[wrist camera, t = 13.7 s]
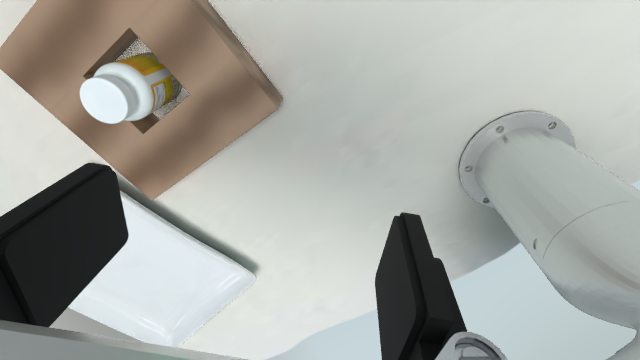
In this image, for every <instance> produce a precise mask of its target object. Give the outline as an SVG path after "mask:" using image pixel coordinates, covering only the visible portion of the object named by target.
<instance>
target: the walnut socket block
mask: <svg viewBox="0 0 640 360" xmlns="http://www.w3.org/2000/svg"><path fill="white" fill-rule="evenodd" d="M138 37H139V38H140V39H141V41H142V42H143V43H144V44H145V45H146V46H147V47H148V48H149V49H150V50H151V52H152V53H153V54H154V55H155V56H156V57H157V58H158V59H159V60H160V61H161V63H162V64H163V65H164V66H165V67H166V68H167V69H168V70H169V71H170V73H171V74H172V75H173V76H174V77H175V78H176V79H177V80H178V81H179V82H180V84H181V85H182V86H183V87H184V88H185V89H186V90H187V91H188V92H189V93H190V95H189V96H188V97H187V98H185V99H184V100H183V101H182V102H181V103H180V104H178V105H177V106H176V107H175V108H174V109H172V110H171V111H170V112H169V113H168V114H167V115H165V116H164V117H163V118H162V119H161V120H159V119H158V118H157V117H156V116H155V115H154V114H153V113H150V114H149V115H147V116H146V117H144V118H142V119H139V120H135V121H126V120H123V121H121V122H119V123H115V124H109V123H104V122H101V121H99V120H97V119H96V118H94V117H93V116H91V115H90V114H89V113H88V112H87V110H86V109H85V108H84V106H83V104H82V102H81V99H80V88H81V86H82V84H83V83H84V82H85V81H86V80H88V79H90V78H92V77H94V74H95V73H96V71H97V70H98V69H99V68H100V67H102V66H103V65H105V64H108V63H111V62H114V61H115V60H116V59H117V58H118V57H119V56H120V55H121V54H122V53H123V52H124V51H125V50H126V49H127V48H128V47H129V46H130V45H131V44H132V43H133V42H134V41H135V40H136V39H137V38H138ZM0 69H1V70H2V71H3V72H4V73H6V74H7V75H8V76H9V77H10V78H11V79H12V80H14V81H15V82H16V83H17V84H18V85H19V86H21V87H22V88H23V89H24V90H25V91H26V92H27V93H29V94H30V95H31V96H32V97H33V98H34V99H35V100H37V101H38V102H39V103H40V104H41V105H42V106H43V107H45V108H46V109H47V110H48V111H49V112H50V113H51V114H53V115H54V116H55V117H56V118H57V119H58V120H60V121H61V122H62V123H63V124H64V125H65V126H66V127H68V128H69V129H70V130H71V131H72V132H73V133H74V134H76V135H77V136H78V137H79V138H80V139H81V140H82V141H84V142H85V143H86V144H87V145H88V146H89V147H90V148H92V149H93V150H94V151H95V152H96V153H97V154H98V155H100V156H101V157H102V158H103V159H104V160H105V161H107V162H108V163H109V164H110V165H111V166H112V167H113V168H115V169H116V170H117V171H118V172H119V173H120V174H121V175H123V176H124V177H125V178H126V179H127V180H128V181H129V182H131V183H132V184H133V185H134V186H135V187H136V188H137V189H139V190H140V191H141V192H142V193H143V194H144V195H146V196H147V197H148V198H149V199H150V200H151V201H152V200H154V199H155V198H157V197H158V196H159V195H161V194H162V193H163V192H165V191H166V190H167V189H169V188H170V187H172V186H173V185H174V184H176V183H177V182H178V181H180V180H181V179H183V178H184V177H185V176H187V175H188V174H189V173H191V172H192V171H194V170H195V169H196V168H198V167H199V166H200V165H202V164H203V163H205V162H206V161H207V160H209V159H210V158H211V157H213V156H214V155H216V154H217V153H218V152H220V151H221V150H222V149H224V148H225V147H227V146H228V145H229V144H231V143H232V142H233V141H235V140H236V139H237V138H239V137H240V136H242V135H243V134H244V133H246V132H247V131H248V130H250V129H251V128H253V127H254V126H255V125H257V124H258V123H259V122H261V121H262V120H264V119H265V118H266V117H268V116H269V115H270V114H272V113H273V112H275V111H276V110H277V109H278V107H279V105H280V103H281V101H282V99H283V97H282V96H281V95H280V93H279V92H278V91H277V90H276V88H275V87H274V86H273V84H272V83H271V82H270V81H269V79H268V78H267V77H266V75H265V74H264V73H263V72H262V70H261V69H260V68H259V66H258V65H257V64H256V62H255V61H254V60H253V59H252V57H251V56H250V55H249V53H248V52H247V51H246V50H245V48H244V47H243V46H242V44H241V43H240V42H239V40H238V39H237V38H236V37H235V35H234V34H233V33H232V31H231V30H230V29H229V28H228V26H227V25H226V24H225V22H224V21H223V20H222V19H221V17H220V16H219V15H218V13H217V12H216V11H215V9H214V8H213V7H212V6H211V4H210V3H209V2H208V0H37V1H36V3H35V4H34V5H33V6H32V8H31V9H30V10H29V12H28V13H27V14H26V15H25V17H24V18H23V19H22V21H21V22H20V23H19V24H18V26H17V27H16V28H15V29H14V31H13V32H12V33H11V35H10V36H9V37H8V38H7V40H6V41H5V42H4V44H3V45H2V46H1V47H0Z"/></svg>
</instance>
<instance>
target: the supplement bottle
mask: <svg viewBox="0 0 640 360" xmlns="http://www.w3.org/2000/svg"><path fill="white" fill-rule="evenodd" d="M180 89H181V84H180V82H179V81H178V80H177V79H176V78H175V77H174V76H173V75H172V74H171V73H170V71H169V70H168V69H167V68H166V67H165V66H164V65H163V64H162V63H161V61H160V60H159V59H158V58H157V57H156V56H155V55H154V54H153V53H150V52H149V53H143V54H139V55H136V56H133V57H129V58H126V59H122V60H119V61H115V62H111V63H108V64H105V65H103V66H102V67H100V68H99V69H98V70H97V71H96V73H95V74H94V77H92V78H90V79H88V80H86V81H85V82H84V83H83V84H82V86H81V88H80V99H81V102H82V104H83V106H84V108H85V109H86V110H87V112H88V113H89V114H90V115H91V116H93V117H94V118H96V119H97V120H99V121H101V122H104V123H109V124H115V123H119V122H121V121H123V120H126V121H135V120H139V119H142V118H144V117H146V116H147V115H149V114H150V113H152V112H154V111H155V110H157V109H158V108H160V107H162V106H163V105H165V104H167V103H168V102H170V101H171V100H173V99H174V98H175V97H176V96H177V95H178V93H179V91H180Z"/></svg>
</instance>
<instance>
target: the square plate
mask: <svg viewBox="0 0 640 360" xmlns="http://www.w3.org/2000/svg"><path fill="white" fill-rule="evenodd" d="M120 195H121V200H122V204H123V209H124V214H125V219H126V224H127V228H128V234H129V236H128V240H127V242H126V244H125V245H124V246H123V247H122V249H121V250H120V251H119V252H118V253H117V254H116V255H115V256H114V257H113V258H112V259H111V260H110V262H109V263H108V264H107V265H106V266H105V267H104V268H103V269H102V270H101V271H100V272H99V273H98V275H97V276H96V277H95V278H94V279H93V280H92V281H91V282H90V283H89V284H88V285H87V287H86V288H85V289H84V290H83V291H82V292H81V293H80V294H79V295H78V296H77V297H76V298H75V300H74V301H73V302H72V303H71V304H70V305H69V306H68V308H70V309H72V310H74V311H77V312H79V313H81V314H83V315H85V316H87V317H90V318H91V319H94V320H96V321H98V322H100V323H102V324H104V325H107V326H109V327H111V328H113V329H116V330H118V331H120V332H122V333H124V334H127V335H129V336H131V337H133V338H135V339H138V340H140V341H142V342H145V343H150V344H156V345H162V346H169V347H175V348H178V347H179V346H180V345H181V344H182V343H184V342H185V341H186V340H187V339H188V338H189V337H190V336H192V335H193V334H194V333H195V332H196V331H197V330H198V329H200V328H201V327H202V326H203V325H204V324H205V323H207V322H208V321H209V320H210V319H211V318H213V317H214V316H215V315H216V314H217V313H219V312H220V311H221V310H222V309H224V308H225V307H226V306H227V305H228V304H230V303H231V302H232V301H233V300H235V299H236V298H237V297H238V296H239V295H241V294H242V293H243V292H244V291H246V290H247V289H248V288H249V287H250V286H251V285H253V284H254V283H255V281H256V279H257V278H256V276H255V275H254V274H253V273H252V272H250V271H248V270H247V269H245V268H244V267H243V266H241V265H240V264H238V263H237V262H235V261H234V260H232V259H230V258H229V257H227V256H225V255H224V254H222V253H220V252H218V251H217V250H215V249H213V248H211V247H209V246H208V245H206V244H204V243H202V242H200V241H199V240H197V239H195V238H194V237H192V236H190V235H189V234H187V233H185V232H184V231H182V230H180V229H179V228H177V227H176V226H174V225H172V224H171V223H169V222H168V221H166V220H165V219H163V218H161V217H160V216H158V215H157V214H155V213H154V212H152V211H151V210H149V209H148V208H146V207H145V206H143V205H142V204H140V203H139V202H137V201H136V200H134V199H133V198H131V197H130V196H128V195H127V194H125V193H124V192H122V191H120Z"/></svg>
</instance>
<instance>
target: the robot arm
mask: <svg viewBox="0 0 640 360" xmlns="http://www.w3.org/2000/svg"><path fill="white" fill-rule="evenodd" d="M497 127H498V128H497ZM459 175H460V180H461V183H462V185H463V187H464V189H465V190H466V192H467V193H468V195H469V196H470V197H471V198H472V199H473V200H475V201H476V202H478V203H480V204H482V205H484V206H487V207H491V208H496V210H497V211H498V212H499V214H500V215H501V217H502V218H503V219H504V221H505V222H506V223H507V225H508V226H509V227H510V229H511V230H512V231H513V233H514V234H515V235H516V237H517V238H518V239H519V241H520V242H521V243H522V244H523V246H524V247H525V249H526V250H527V251H528V253H529V254H530V255H531V257H532V258H533V259H534V261H535V262H536V263H537V265H538V266H539V267H540V269H541V270H542V271H543V273H544V274H545V275H546V276H547V278H548V280H549V281H550V282H551V284H552V285H553V286H554V288H555V289H556V290H557V291H558V292H559V293H560V295H561V296H562V297H563V298H564V299H566V300H567V301H568V302H569V303H570V304H572V305H573V306H575V307H576V308H578V309H579V310H581V311H583V312H585V313H587V314H589V315H591V316H594V317H596V318H598V319H601V320H604V321H607V322H610V323H614V324H618V325H621V326H624V327H628V328H632V329H636V331H637V333H636V336H635V338H634V339H633V340H632V341H631V342H630V343H628V344H627V345H626V346H624V347H623V348H621V349H620V350H618V351H617V352H616V353H615V354H614V355H613V356H611V357H610V358H608V359H606V360H640V191H639V190H637V189H636V188H634V187H633V186H631V185H630V184H628V183H627V182H625V181H624V180H622V179H620V178H619V177H617V176H616V175H614V174H613V173H611V172H610V171H608V170H607V169H605V168H604V167H602V166H600V165H599V164H597V163H596V162H594V161H593V160H591V159H590V158H588V157H587V156H585V155H583V154H582V153H580V152H579V151H577V150H576V149H575V141H574V137H573V135H572V133H571V131H570V129H569V128H568V127H567V126H566V125H565V124H564V123H563V122H562V121H560V120H558V119H557V118H555V117H553V116H551V115H548V114H546V113H541V112H536V111H524V112H518V113H513V114H510V115H507V116H504V117H501V118H499V119H497V120H495V121H493V122H491V123H490V124H489V125H487V126H486V127H484V128H483V129H482V130H480V131H479V132H478V133H477V134H476V135H475V136H474V137H473V139H472V140H471V141H470V142H469V144H468V145H467V147H466V149H465V151H464V153H463V154H462V158H461V161H460V167H459ZM128 236H129V234H128V228H127V224H126V219H125V214H124V209H123V204H122V200H121V195H120V190H119V185H118V180H117V175H116V173H115V172H114V171H112V169H111V168H110V167H109V166H107V165H101V164H95V163H87V164H85V165H83V166H82V167H80V168H78V169H77V170H75V171H74V172H72V173H70V174H69V175H67V176H66V177H64V178H62V179H61V180H59V181H57V182H56V183H54V184H53V185H51V186H49V187H48V188H46V189H44V190H43V191H41V192H40V193H38V194H36V195H35V196H33V197H32V198H30V199H28V200H27V201H25V202H23V203H22V204H20V205H19V206H17V207H15V208H14V209H12V210H11V211H9V212H7V213H6V214H4V215H2V216H1V217H0V360H248V359H242V358H236V357H230V356H224V355H218V354H212V353H206V352H200V351H193V350H187V349H181V348H175V347H169V346H162V345H156V344H150V343H144V342H138V341H131V340H125V339H119V338H113V337H106V336H100V335H94V334H87V333H80V332H74V331H67V330H61V329H55V328H49V326H50V325H51V324H52V323H53V322H54V321H55V320H56V319H57V318H58V317H59V316H60V315H61V314H62V313H63V311H64V310H65V309H66V308H67V307H68V306H69V305H70V304H71V303H72V302H73V301H74V300H75V298H76V297H77V296H78V295H79V294H80V293H81V292H82V291H83V290H84V289H85V288H86V287H87V285H88V284H89V283H90V282H91V281H92V280H93V279H94V278H95V277H96V276H97V275H98V273H99V272H100V271H101V270H102V269H103V268H104V267H105V266H106V265H107V264H108V263H109V262H110V260H111V259H112V258H113V257H114V256H115V255H116V254H117V253H118V252H119V251H120V250H121V249H122V247H123V246H124V245H125V244H126V242H127V240H128ZM375 287H376V298H377V309H378V320H379V331H380V342H381V353H382V360H507V358H506V357H505V355H504V354H503V353H502V352H501V350H500V349H499V348H498V347H496V346H495V345H494V344H493V343H492V342H490V341H489V340H488V339H486V338H484V337H482V336H481V335H478V334H475V333H472V332H467V330H466V327H465V324H464V321H463V318H462V315H461V313H460V310H459V307H458V304H457V301H456V299H455V296H454V293H453V290H452V288H451V285H450V282H449V279H448V276H447V273H446V271H445V268H444V265H443V263H442V261H441V260H440V259H439V258H434V257H433V254H432V251H431V248H430V245H429V242H428V239H427V236H426V233H425V230H424V227H423V224H422V221H421V218H420V216H419V215H415V214H409V213H403V212H402V213H401V214H400V216H395V217H394V219H393V222H392V225H391V228H390V231H389V234H388V238H387V241H386V244H385V247H384V250H383V254H382V257H381V260H380V263H379V266H378V270H377V273H376V278H375Z"/></svg>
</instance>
